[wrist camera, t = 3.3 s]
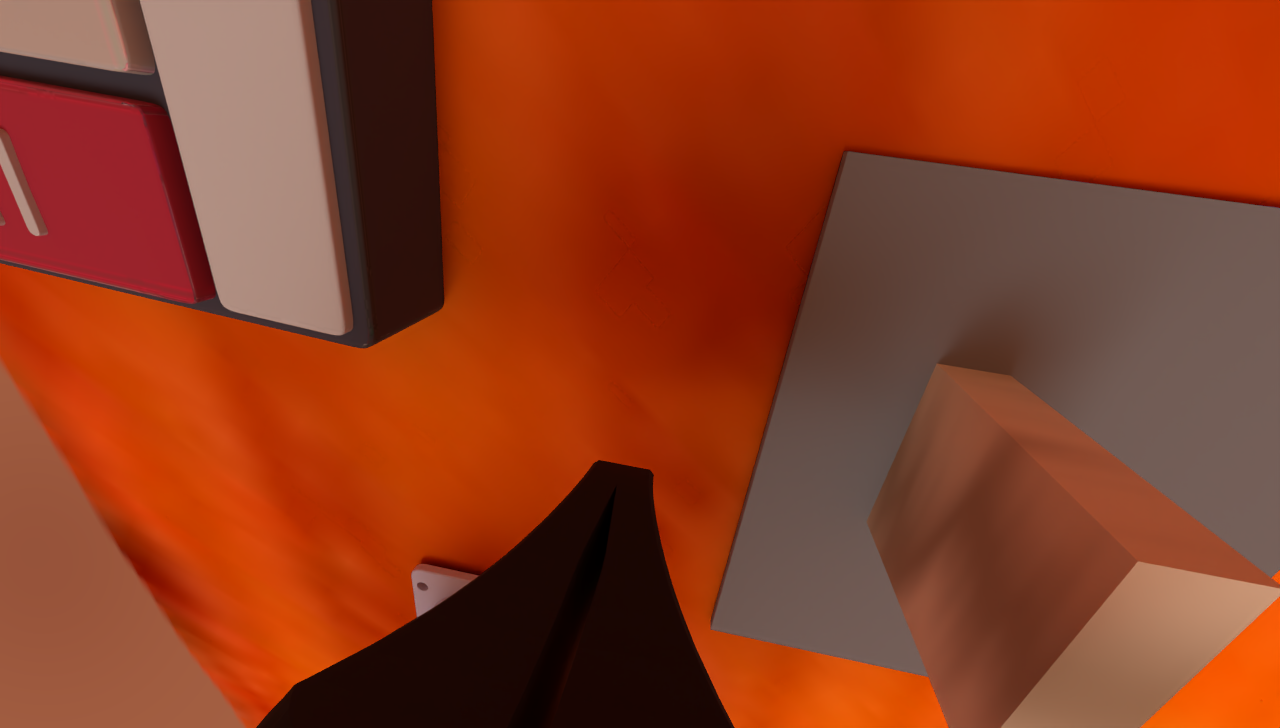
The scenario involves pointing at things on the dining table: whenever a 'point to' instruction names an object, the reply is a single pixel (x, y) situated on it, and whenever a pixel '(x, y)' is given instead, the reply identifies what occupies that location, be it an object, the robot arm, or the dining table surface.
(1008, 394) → the maple tile
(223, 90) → the calculator
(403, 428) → the dining table surface
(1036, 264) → the mat
